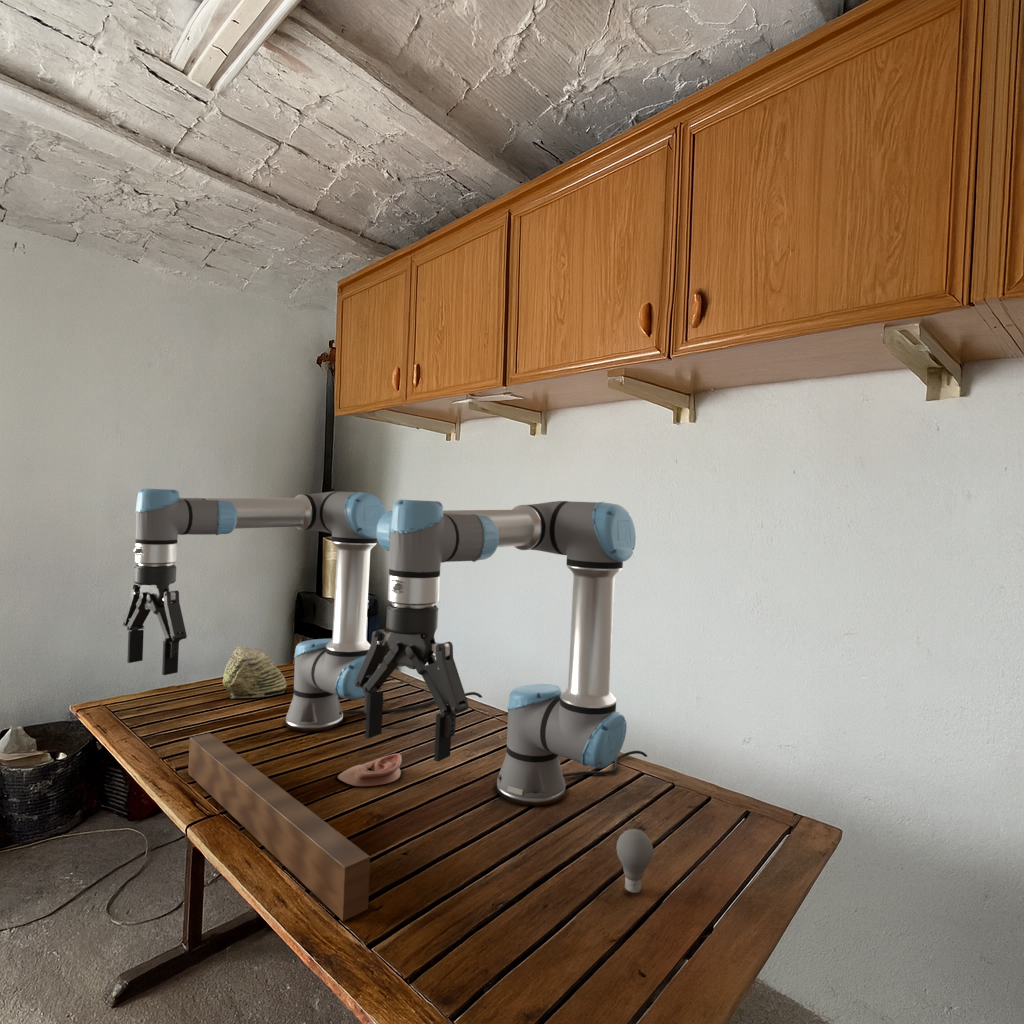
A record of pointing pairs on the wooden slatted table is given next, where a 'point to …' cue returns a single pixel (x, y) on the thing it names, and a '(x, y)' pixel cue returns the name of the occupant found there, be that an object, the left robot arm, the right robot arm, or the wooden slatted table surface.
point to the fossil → (252, 674)
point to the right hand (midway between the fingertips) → (406, 746)
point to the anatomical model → (373, 772)
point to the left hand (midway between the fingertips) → (151, 667)
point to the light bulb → (634, 857)
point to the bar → (284, 827)
